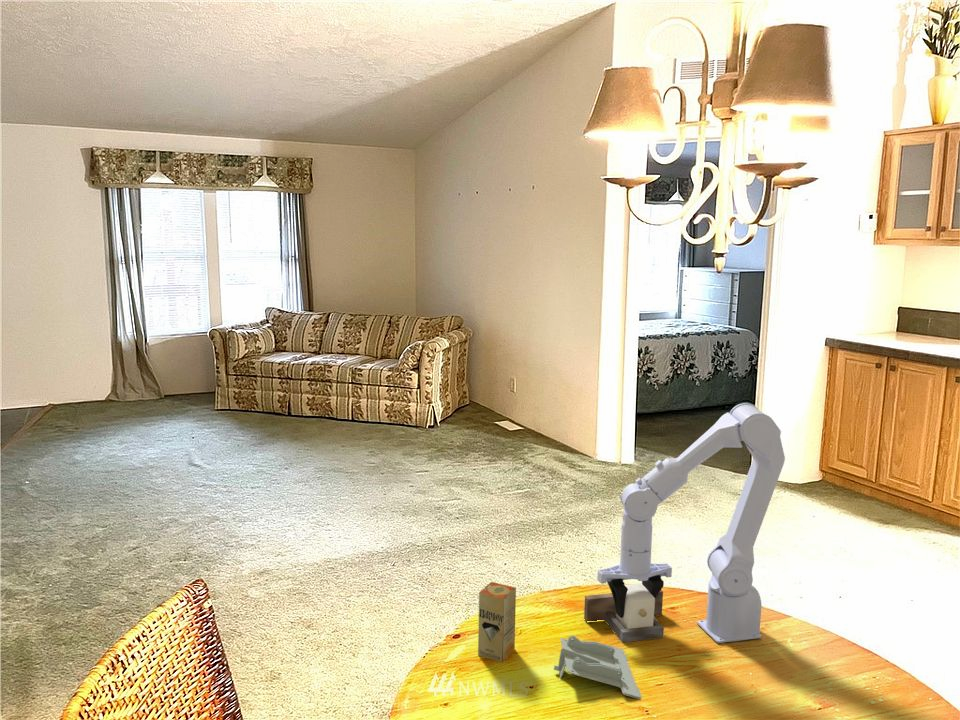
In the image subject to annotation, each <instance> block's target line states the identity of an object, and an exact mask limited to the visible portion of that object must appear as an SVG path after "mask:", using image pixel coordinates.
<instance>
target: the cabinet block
mask: <svg viewBox="0 0 960 720" xmlns="http://www.w3.org/2000/svg"><path fill="white" fill-rule="evenodd" d="M624 585H625V586H626V587H627V588H628V591H627V594H626V599H625V610H624V616H623V618H620V617H619V616H618V614H617V613H616V619H617V620H618V621H619V622H620V624H621V625H622V626H623V627H624V628H625V629H632V628H641V627H650V626H653V620H654V618H655V616H654V607H655V598H654V597H653V596H652V594H651V593H650V592H649V591H648V590H647V589H646V588H645V587H644V586H643V584H642V582H641V583H631V584H630V583H629V584H624Z"/></svg>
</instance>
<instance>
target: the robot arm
mask: <svg viewBox="0 0 960 720" xmlns="http://www.w3.org/2000/svg"><path fill="white" fill-rule="evenodd" d="M781 433H782V430H781V429H780V428H779V426H778V425H777V423H776V422H775V421H774V419H773V418H772V417H771V416H769V415H767V414H766V413H764V412H762V411H761V410H760V409H759V408H758V407H757V406H756V405H754V404H752V403H749V402H748V403H747V402H743V403H742V402H741V403H739V404H736V405H735V406H734V407H733V408H732V409H731V410H730V411H729V412H725V413H724V414H722V415H721V416H720V417H719V419H718V420H716V422H715V423H714V424H713V425H712V426H711V427H710V428H709V429H708V430H706V431H705V432H704V433H703V434H702V435H700V437H699V438H698V439H696V440H695V441H694V442H693V443H692V444H690V446H688V447H687V448H686V449H685V450H684V451H683V452H682V453H681V454H680V455H678V456H677V457H675V458H674V457H673V458H672V457H667V458H665V459H664V460H661V459H659V460H657V461H656V462H654V466H655V467H654V468H652V469H651V470H650V471H649V472H648V473H647V474H645V475H643V477H642V478H641V477H638V478H636V479H635V482H634V483H629V485H627V486H626V487H625V488H623V490H622V493H621V494H620V495H619V496H620V502H621V505H623V513H622V521H621V534H620V535H621V536H620V559H619V560H620V561H619V564H617V565H614V566H610V567H607V568H602V569H598V570H597V576H596V577H597V578H596V579H597V581H598V582H599V583H600V584H604V585H605V584H606V583H607V585H608V587H609V589H610V592H611V593H612V595H613V598H614V602H615V607H616V613H617V614H618V616H619V617H620V618H623V616H624V610H625V599H626V594H627V591H628V588H627V587H626V586H625V585H626V584H625V581H629V580H637V581H638V582H641V583H642V584H643V586H644V587H645V588H646V589H647V590H648V591H649V592H650V593H651V594H652V596H653V597H654V598H655V599H656V597H657V595H658V593H659V592H660V590H662V589H663V587H664V584H665V583H664V580H663V579H662V577H665V578H671V577H672V573H673V567H672V566H670V565H669V564H668V563H652V545H653V544H652V543H653V541H652V540H653V524H652V523H653V517H654V516H655V514H656V513H657V509H658V506H659V505H660V504H661V503H663V502H664V501H665V500H667V499H668V498H669V497H670V496H671V495H673V494H674V493H676V492H677V491H678V490H679V489H680V488H682V487H683V486H684V485H685V484H687V482H688V478H689V477H688V476H689V473H690V472H691V471H692V470H694V469H696V468H697V467H698V466H699V465H701V464H702V463H703V462H705V461H707V460H708V459H709V458H711V457H712V456H714V455H715V454H717V453H718V452H719V451H720V450H722V449H725V448H728V449H729V448H733V449H734V448H736V449H738V448H739V449H741V448H743V445H742V442H744V444H745V446H746V449H747V450H748V451H749V453H750V455H751V456H752V461H751V464H750V467H749V470H748V472H747V474H746V478H745V481H744V482H743V483H744V484H743V486H742V489H741V492H740V495H739V498H738V500H737V503H736V505H735V508H734V511H733V514H732V517H731V520H730V523H729V526H728V527H727V531H726V533H725V535H724V534H723V536H721V537H720V538H719V539H718V542H717V544H716V546H715V547H714V548H712V549H711V550H710V552H709V553H708V556H707V558H706V559H707V560H706V561H707V562H706V563H707V566H708V569H709V571H710V572H711V573H712V574H711V577H710V579H709V581H708V587H707V588H708V589H707V605H706V619H703V620H697V621H696V623H697V625H698V626H699V627H700V628H701V629H702V630H703V631H704V632H705V633H706V634H707V635H709V636H710V637H711V638H712V640H714V641H715V642H716V643H717V644H722V643H731V642H739V641H747V640H756V639H761V638H762V637H763V634H761V633H760V629H761V618H762V599H761V595H760V592H759V591H758V589H756V587H755V586H754V585H753V581H754V580H753V579H754V578H753V567H754V565H755V557H754V556H755V555H754V554H755V553H754V546H755V543H756V540H757V537H758V535H759V533H760V530H761V527H762V524H763V522H764V519H765V516H766V513H767V511H768V507H769V506H770V502H771V500H772V497H773V494H774V491H775V489H776V486H777V483H778V481H779V478H780V475H781V472H782V470H783V467H784V464H785V462H786V461H785V460H786V456H785V453H784V448H783V444H782V439H781Z"/></svg>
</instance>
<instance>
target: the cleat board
mask: <svg viewBox="0 0 960 720" xmlns="http://www.w3.org/2000/svg"><path fill="white" fill-rule="evenodd" d="M663 598H664V591H663V590H662V589H661V590H660V592H659V593H658V595H657V597H656V599H655V607H654V615H659V616H662V615H663V601H664V599H663ZM583 610H584V611H583V612H584V613H583V614H584V615H583V620H584V619H585V620H586V621H597V620H605V621H606V622H607V623H608V624H609V626H610V627H611V628H612V629H611V628H610V627H609V626H608V627H609V628H610V629H611V631H612V630H613V631H614V632H615V633H614V632H613V631H612V632H613V633H614V634H615V636H616V635H617V636H616V637H617V638H618V640H619V641H620V640H621V641H622V642H621V643H629V642H637V641H645V640H646V641H647V640H653V639H654V640H655V639H664V631H665V628H664V626H663V625H662V624H661V623H660V622H659V621H658V620H657V619H656V617H654V620H653V626H650V627H641V628H632V629H625V628H624V627H623V626H622V625H621V624H620V622H619V621H618V620H617V619H616V607H615V602H614V598H613V595H612V592H611V593H601V594H591V595H585V596H584V609H583ZM585 620H584V621H585ZM605 621H604V622H605ZM606 622H605V623H606ZM607 623H606V624H607ZM608 624H607V625H608Z"/></svg>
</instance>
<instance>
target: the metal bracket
mask: <svg viewBox="0 0 960 720" xmlns="http://www.w3.org/2000/svg"><path fill="white" fill-rule="evenodd" d="M560 643H561V644H560V645H561V649H560V654H559V660H558V665H554V666H553V670H554V671H558V675H559V679H560V680H561V679H562V677H563V675H564V672H565V670H566V671H567V673H568V674H571V675H575V676H578V677H580V678H581V677H582V678H586V679H589V680H593V681H595V682H600V683H603V684H606V685H610V686H614V687H617V688H619V689H621V692H622V693H621V694H622V695H624V696H627V697H631V698H634V699H637V700H641V699H642V694H641V691H640V689H639V687H638V686H637V685H636V681H635V679H634V676H633V674H632V670H631V668H630V665H629V662H628V661H629V658H628V656H627V654H626V655H625V654H624V653H626V651H624V649H623V648H619V647H617V646H613V645H608V644H604V643H601V642H597V641H595V640H594V641H592V640H589V641H588V640H580V639H579V638H578V637H576V636H575V635H573V634H572V635H569V636H568V639H567V638H564V637H561V638H560ZM626 656H627V657H626ZM627 658H628V659H627Z"/></svg>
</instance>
